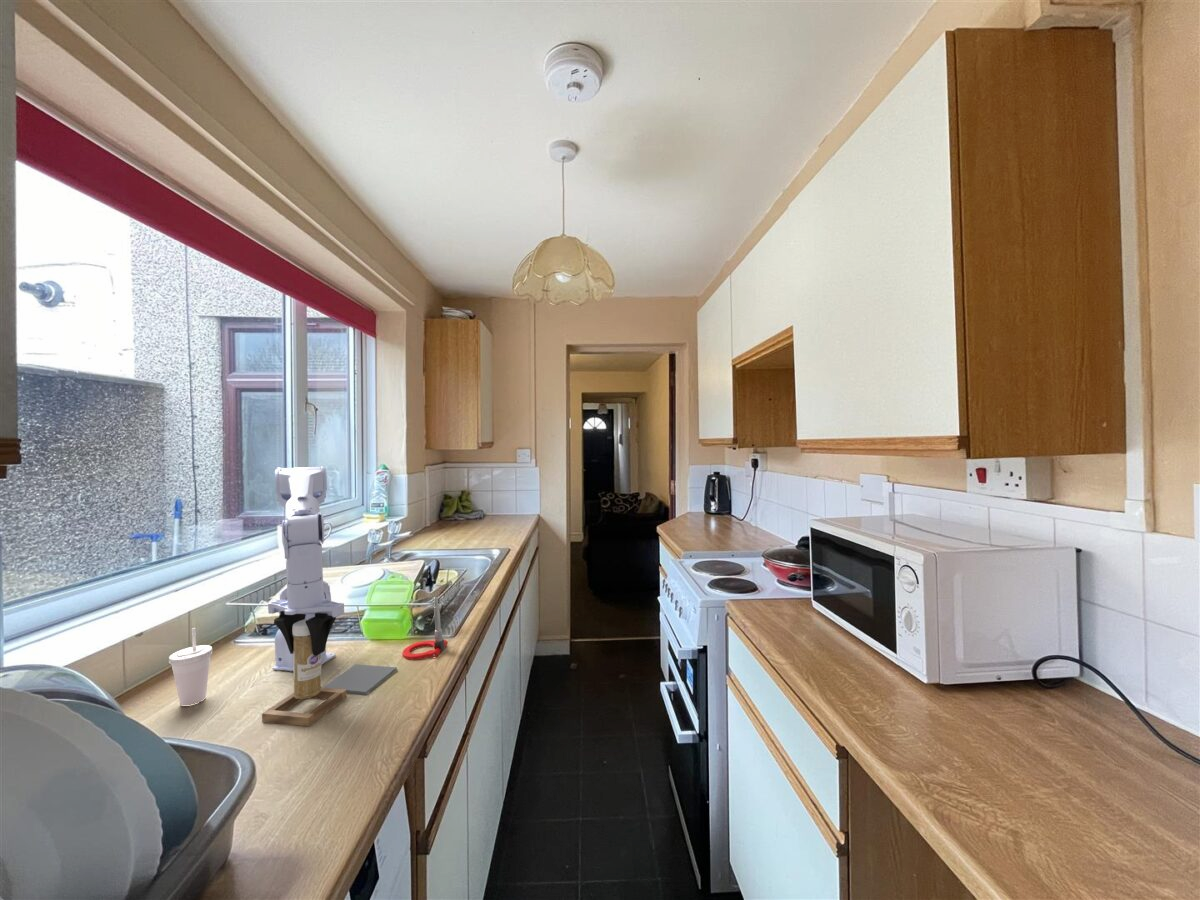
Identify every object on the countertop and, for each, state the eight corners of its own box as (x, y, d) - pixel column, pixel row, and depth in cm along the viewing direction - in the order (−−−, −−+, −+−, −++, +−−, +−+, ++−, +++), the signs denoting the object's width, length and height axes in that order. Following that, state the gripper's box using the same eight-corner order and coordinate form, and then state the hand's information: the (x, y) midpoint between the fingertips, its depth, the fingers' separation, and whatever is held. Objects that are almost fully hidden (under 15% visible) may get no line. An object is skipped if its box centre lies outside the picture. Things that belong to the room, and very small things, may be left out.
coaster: (321, 691, 94) (321, 688, 94) (355, 666, 104) (355, 664, 104) (366, 694, 92) (366, 691, 92) (396, 669, 102) (396, 667, 102)
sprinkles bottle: (307, 701, 85) (306, 627, 85) (287, 698, 86) (286, 625, 86) (327, 688, 90) (326, 618, 90) (307, 686, 91) (306, 616, 91)
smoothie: (221, 696, 92) (218, 626, 92) (181, 714, 87) (178, 638, 86) (203, 690, 95) (200, 621, 95) (163, 706, 89) (160, 633, 89)
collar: (262, 721, 84) (261, 713, 84) (304, 693, 93) (303, 685, 93) (308, 726, 82) (308, 718, 82) (346, 697, 91) (346, 689, 91)
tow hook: (395, 662, 107) (436, 660, 106) (391, 605, 107) (431, 603, 106) (412, 646, 115) (449, 644, 115) (408, 593, 115) (446, 591, 114)
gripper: (252, 585, 85) (255, 659, 85) (323, 588, 82) (325, 665, 83) (285, 573, 92) (287, 642, 92) (351, 576, 89) (353, 647, 90)
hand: (307, 652), depth 88 cm, fingers closed on sprinkles bottle, 4 cm apart
